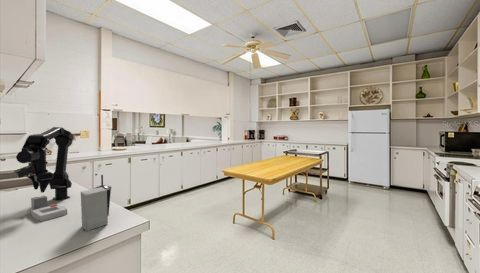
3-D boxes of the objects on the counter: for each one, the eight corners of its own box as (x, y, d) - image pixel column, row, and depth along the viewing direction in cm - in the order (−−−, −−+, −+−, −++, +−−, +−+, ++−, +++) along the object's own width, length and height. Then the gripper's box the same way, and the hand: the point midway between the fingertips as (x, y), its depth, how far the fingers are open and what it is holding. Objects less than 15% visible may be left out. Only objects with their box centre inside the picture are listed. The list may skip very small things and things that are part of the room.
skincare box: (102, 220, 99) (102, 186, 98) (108, 225, 94) (108, 189, 94) (80, 227, 92) (79, 190, 92) (85, 232, 88) (85, 193, 87)
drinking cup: (89, 217, 102) (88, 175, 101) (105, 212, 109) (105, 172, 108) (98, 221, 98) (98, 177, 97) (115, 215, 105) (114, 174, 104)
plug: (31, 211, 108) (31, 197, 108) (44, 208, 112) (44, 194, 112) (34, 213, 106) (33, 198, 106) (47, 210, 110) (47, 196, 110)
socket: (31, 215, 103) (31, 209, 103) (57, 209, 112) (57, 203, 112) (40, 221, 97) (40, 214, 97) (67, 214, 106) (67, 207, 105)
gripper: (9, 160, 106) (11, 191, 107) (22, 164, 96) (23, 198, 97) (39, 157, 116) (40, 186, 116) (53, 161, 106) (54, 192, 106)
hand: (39, 190), depth 109 cm, fingers open, 9 cm apart
